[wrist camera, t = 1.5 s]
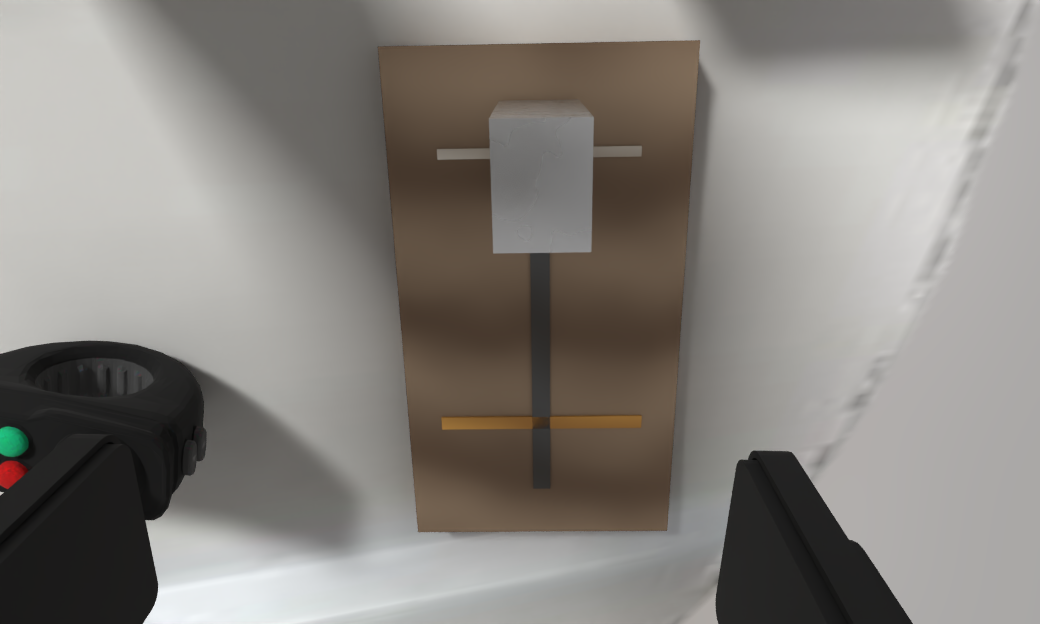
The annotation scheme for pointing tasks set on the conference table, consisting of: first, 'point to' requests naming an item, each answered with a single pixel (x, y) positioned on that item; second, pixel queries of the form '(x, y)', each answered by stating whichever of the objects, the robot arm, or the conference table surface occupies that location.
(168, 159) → the conference table surface
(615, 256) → the fader console
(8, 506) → the robot arm
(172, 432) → the controller
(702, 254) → the conference table surface
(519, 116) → the fader tab
